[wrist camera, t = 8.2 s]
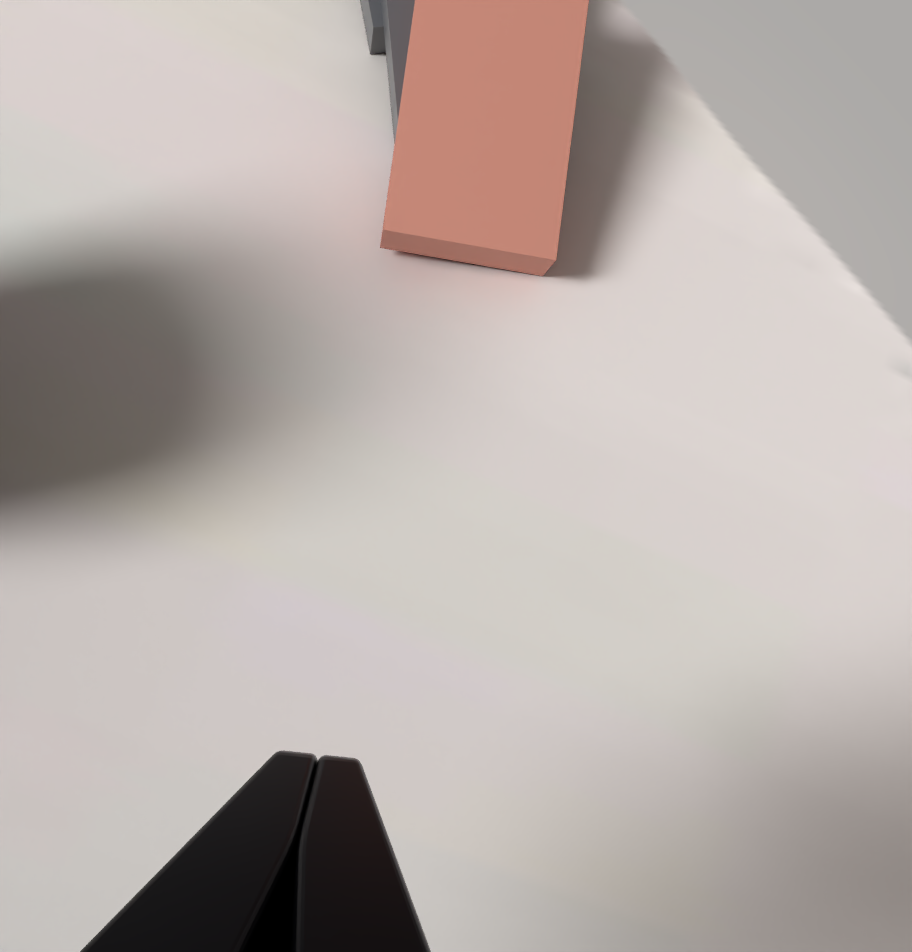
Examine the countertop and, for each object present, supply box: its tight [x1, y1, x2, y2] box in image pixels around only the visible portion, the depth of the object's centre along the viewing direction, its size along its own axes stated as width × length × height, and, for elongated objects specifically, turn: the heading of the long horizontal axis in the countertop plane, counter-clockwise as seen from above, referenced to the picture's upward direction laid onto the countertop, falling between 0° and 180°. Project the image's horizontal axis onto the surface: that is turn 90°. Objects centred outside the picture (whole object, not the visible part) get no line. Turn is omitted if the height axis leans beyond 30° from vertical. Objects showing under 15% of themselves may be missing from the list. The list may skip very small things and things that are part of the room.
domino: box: [380, 0, 589, 276], centre depth 26 cm, size 2×5×10 cm
